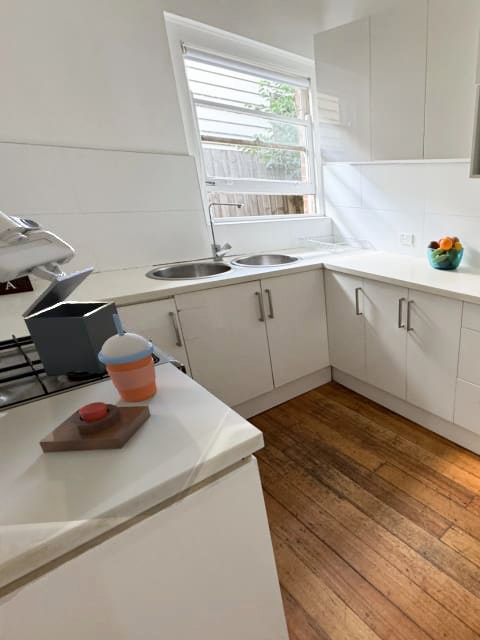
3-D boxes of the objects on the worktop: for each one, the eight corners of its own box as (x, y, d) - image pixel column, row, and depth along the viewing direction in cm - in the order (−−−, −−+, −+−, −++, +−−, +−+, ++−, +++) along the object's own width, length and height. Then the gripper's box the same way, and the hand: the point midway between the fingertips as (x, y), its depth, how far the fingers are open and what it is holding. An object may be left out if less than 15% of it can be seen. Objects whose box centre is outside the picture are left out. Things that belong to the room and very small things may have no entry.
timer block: (43, 452, 63) (34, 433, 62) (83, 418, 72) (76, 400, 71) (121, 448, 65) (114, 429, 63) (151, 415, 74) (145, 397, 72)
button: (77, 422, 65) (73, 413, 65) (90, 410, 69) (87, 402, 68) (99, 421, 66) (96, 412, 65) (112, 409, 69) (109, 401, 68)
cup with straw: (117, 389, 82) (91, 310, 75) (166, 380, 86) (146, 304, 79) (109, 410, 75) (79, 325, 68) (163, 400, 79) (140, 318, 71)
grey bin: (130, 352, 99) (114, 301, 93) (102, 373, 88) (82, 317, 83) (81, 353, 97) (62, 302, 92) (46, 375, 87) (23, 318, 81)
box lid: (95, 268, 90) (91, 266, 89) (59, 281, 79) (55, 278, 79) (63, 301, 92) (60, 299, 91) (24, 318, 81) (20, 315, 81)
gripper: (-45, 232, 69) (35, 284, 74) (42, 219, 88) (101, 262, 93) (-61, 256, 71) (18, 306, 76) (28, 239, 89) (86, 280, 94)
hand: (64, 281), depth 84 cm, fingers closed, pressing on box lid
